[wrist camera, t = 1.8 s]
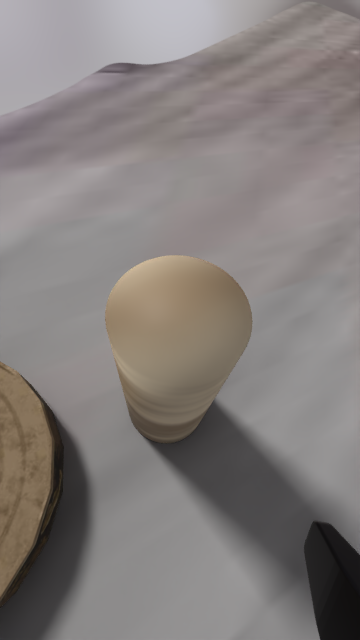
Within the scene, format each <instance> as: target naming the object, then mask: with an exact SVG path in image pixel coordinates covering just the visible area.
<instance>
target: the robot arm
mask: <svg viewBox="0 0 360 640" xmlns="http://www.w3.org/2000/svg"><path fill="white" fill-rule="evenodd" d="M304 554H305V560H306V566H307V572H308V578H309V584H310V590H311V596H312V601H313V607H314V613H315V618H316V623H317V628H318V632H319V636H320V640H360V555H359V554H358V553H357V552H356V551H355V549H354V548H353V547H352V546H351V545H350V544H349V543H348V542H347V541H346V540H345V539H344V538H343V537H342V536H341V534H340V533H339V532H338V531H337V530H336V529H335V528H334V527H333V526H332V525H331V524H329V523H326V522H320V521H314V522H313V523H312V525H311V528H310V530H309V533H308V536H307V539H306V541H305V545H304Z"/></svg>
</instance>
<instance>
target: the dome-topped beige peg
mask: <svg viewBox="0 0 360 640" xmlns="http://www.w3.org/2000/svg"><path fill="white" fill-rule="evenodd" d="M105 321H106V329H107V332H108V336H109V340H110V344H111V347H112V351H113V355H114V359H115V362H116V366H117V370H118V374H119V377H120V381H121V385H122V388H123V392H124V396H125V400H126V403H127V407H128V411H129V415H130V418H131V420H132V423H133V425H134V426H135V428H136V429H137V430H138V431H139V432H140V433H141V434H142V435H143V436H144V437H146V438H148V439H150V440H152V441H155V442H158V443H174V442H177V441H180V440H182V439H184V438H186V437H187V436H189V435H190V434H191V433H192V432H193V431H194V430H195V429H196V428H197V426H198V425H199V423H200V421H201V420H202V418H203V416H204V415H205V413H206V412H207V410H208V408H209V407H210V405H211V404H212V402H213V400H214V399H215V397H216V396H217V394H218V392H219V391H220V389H221V387H222V386H223V384H224V383H225V381H226V379H227V378H228V376H229V375H230V373H231V371H232V370H233V368H234V367H235V365H236V363H237V362H238V360H239V358H240V357H241V355H242V354H243V352H244V350H245V348H246V347H247V344H248V342H249V339H250V336H251V331H252V313H251V309H250V305H249V302H248V299H247V297H246V295H245V293H244V292H243V290H242V289H241V287H240V286H239V284H238V283H237V282H236V281H235V280H234V279H233V278H232V277H231V276H230V275H229V274H228V273H226V272H225V271H224V270H222V269H221V268H219V267H217V266H216V265H214V264H212V263H209V262H207V261H204V260H202V259H198V258H194V257H189V256H179V255H174V256H163V257H157V258H153V259H150V260H147V261H145V262H143V263H140V264H138V265H137V266H135V267H133V268H132V269H130V270H129V271H128V272H127V273H125V274H124V275H123V276H122V277H121V278H120V279H119V281H118V282H117V283H116V285H115V286H114V288H113V289H112V291H111V293H110V295H109V298H108V301H107V305H106V311H105Z"/></svg>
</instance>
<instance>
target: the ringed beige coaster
mask: <svg viewBox="0 0 360 640" xmlns="http://www.w3.org/2000/svg"><path fill="white" fill-rule="evenodd" d="M63 449H64V447H63V444H62V440H61V437H60V434H59V431H58V428H57V425H56V421H55V418H54V415H53V412H52V410H51V409H50V408H49V406H48V405H47V404H46V403H45V401H44V400H43V399H42V398H41V396H40V395H39V394H38V393H37V391H36V390H35V389H34V388H33V386H32V385H31V384H30V383H29V382H28V381H27V380H26V379H25V378H23V377H22V376H21V375H20V374H19V373H18V372H17V371H15V370H14V369H12V368H10V367H8V366H7V365H5V364H3V363H1V362H0V608H1V607H2V606H3V605H4V604H5V603H6V602H7V601H8V600H9V599H10V597H11V596H12V595H13V594H14V593H15V592H16V591H17V590H18V588H19V587H20V585H21V584H22V582H23V580H24V579H25V577H26V575H27V574H28V572H29V570H30V569H31V567H32V565H33V564H34V562H35V560H36V559H37V557H38V555H39V554H40V552H41V550H42V549H43V547H44V545H45V544H46V542H47V540H48V537H49V534H50V531H51V527H52V524H53V521H54V518H55V514H56V511H57V508H58V504H59V501H60V498H61V495H62V491H63Z"/></svg>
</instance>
